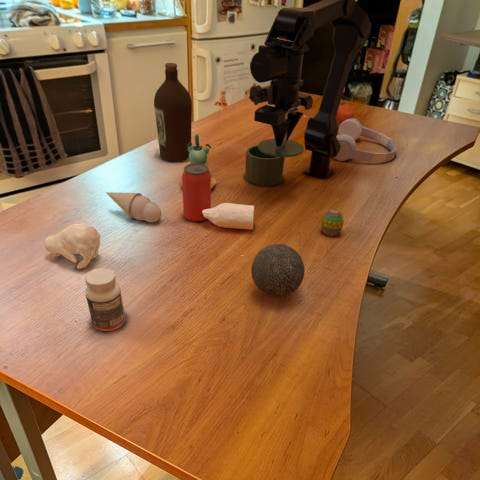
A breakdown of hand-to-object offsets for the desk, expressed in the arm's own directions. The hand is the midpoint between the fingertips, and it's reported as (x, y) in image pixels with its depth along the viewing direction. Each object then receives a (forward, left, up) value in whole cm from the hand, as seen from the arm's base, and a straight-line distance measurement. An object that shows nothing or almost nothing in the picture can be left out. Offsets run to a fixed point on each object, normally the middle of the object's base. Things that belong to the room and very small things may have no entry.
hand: (281, 144), depth 115 cm
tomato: (-62, -8, -13) cm, 64 cm away
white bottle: (+22, -1, -13) cm, 26 cm away
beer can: (+23, -10, -13) cm, 28 cm away
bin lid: (0, 0, -1) cm, 1 cm away
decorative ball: (+38, +21, -13) cm, 46 cm away
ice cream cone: (+32, -22, -13) cm, 41 cm away
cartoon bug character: (+10, -19, -13) cm, 25 cm away
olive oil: (-4, -37, -13) cm, 40 cm away
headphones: (-44, +8, -13) cm, 46 cm away
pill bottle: (+63, +1, -13) cm, 65 cm away
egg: (+11, +20, -13) cm, 27 cm away
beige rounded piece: (+53, -19, -13) cm, 58 cm away
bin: (-6, -8, -13) cm, 16 cm away
